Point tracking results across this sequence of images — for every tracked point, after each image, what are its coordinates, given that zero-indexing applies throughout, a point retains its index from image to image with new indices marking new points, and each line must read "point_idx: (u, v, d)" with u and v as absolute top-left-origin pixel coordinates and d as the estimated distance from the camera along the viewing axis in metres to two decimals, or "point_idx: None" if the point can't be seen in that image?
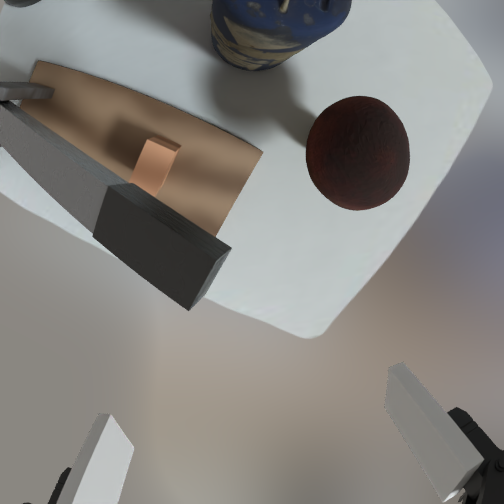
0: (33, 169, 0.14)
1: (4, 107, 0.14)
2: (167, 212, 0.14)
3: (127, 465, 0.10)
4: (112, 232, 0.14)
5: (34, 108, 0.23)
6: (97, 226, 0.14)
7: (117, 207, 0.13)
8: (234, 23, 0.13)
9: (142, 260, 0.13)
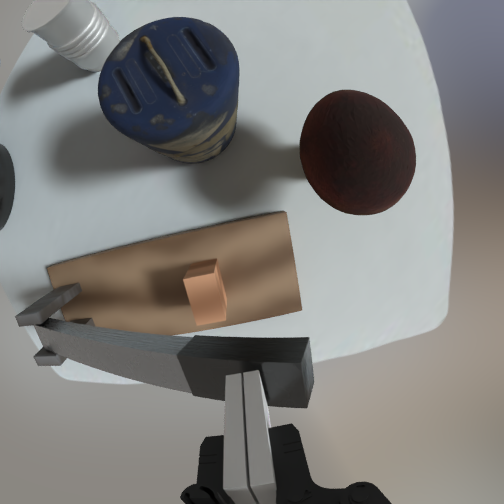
0: (109, 367, 0.18)
1: (47, 328, 0.21)
2: (238, 344, 0.15)
3: None
4: (206, 385, 0.15)
5: (74, 306, 0.32)
6: (191, 386, 0.15)
7: (196, 366, 0.14)
8: (160, 144, 0.16)
9: None
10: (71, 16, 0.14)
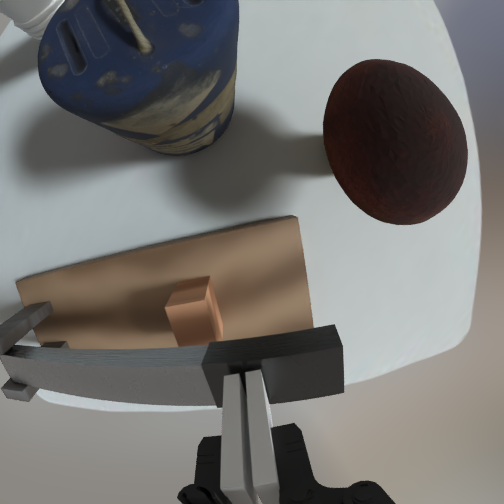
0: (103, 393, 0.15)
1: (16, 356, 0.15)
2: (266, 343, 0.14)
3: None
4: None
5: (47, 327, 0.25)
6: (216, 398, 0.14)
7: (225, 374, 0.13)
8: (116, 120, 0.10)
9: (280, 392, 0.13)
10: None
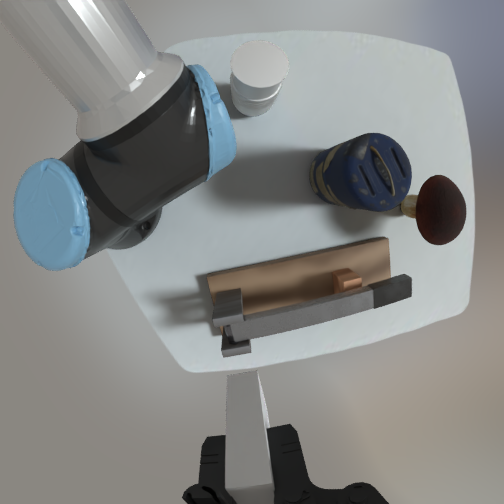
0: (324, 318, 0.38)
1: (257, 318, 0.38)
2: (387, 280, 0.39)
3: None
4: (381, 300, 0.38)
5: None
6: (375, 303, 0.38)
7: (380, 291, 0.38)
8: None
9: (394, 297, 0.38)
10: (279, 83, 0.29)
